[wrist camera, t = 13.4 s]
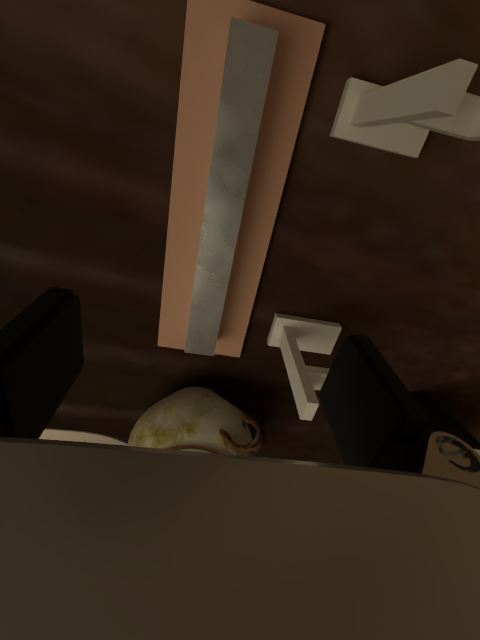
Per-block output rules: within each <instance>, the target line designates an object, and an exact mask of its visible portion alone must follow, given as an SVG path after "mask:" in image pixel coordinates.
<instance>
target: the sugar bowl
mask: <svg viewBox="0 0 480 640" xmlns="http://www.w3.org/2000/svg"><path fill="white" fill-rule="evenodd" d="M246 422H248V423H250V424H251V425H253V426H254V427H255V429H256V435H255V437H254V439H253V441H252V437H251V433H250V430H249V428H248V425H247V423H246ZM264 443H265V430H264V427H263V425H262V423H261V422H260V421H259V420H257V419H256V418H254V417H252V416H250V415H248V414H247V413H246V412H244V411H243V410H242V409H240V408H238V407H236V406H233V405H232V404H230V403H229V402H228V401H226V400H225V399H223V398H221V397H220V396H219V395H218V394H217V393H215V392H214V391H212V390H210V389H208V388H204V387H187V388H183V389H181V390H178V391H176V392H175V393H173V394H172V395H170V396H168V397H166V398H164V399H162V400H161V401H159V402H157V403H156V404H154V405H153V406H152V407H150V408H149V409H148V410H147V411H146V412H145V413H144V414H143V415H142V416H141V417H140V419H139V420H138V421H137V422H136V424H135V426H134V428H133V430H132V432H131V435H130V438H129V443H128V446H136V447H148V448H160V449H172V450H184V451H195V452H207V453H218V454H230V455H241V456H255V455H257V454H258V452H259V451H260V450H261V449H262V447H263V445H264Z"/></svg>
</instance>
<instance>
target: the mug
mask: <svg viewBox="0 0 480 640" xmlns="http://www.w3.org/2000/svg"><path fill="white" fill-rule="evenodd" d="M411 395H412V397H413V398H414V399H415V401H416V402H417V403H418V405H419V406H420V408H421V409H422V410H423V412H424V413H425V414H426V416H427V417H428V418H429V420H430V421H431V422H432V423H431V425H430V426H429V427H428V431H429V432H430V434H432V433H434V432H436V431H438V432H445V433H449V434H452V435H454V436H456V437H458V438H459V439H461V440H463V441H464V442H466V443H467V444H468V445H469V446H471V447H472V448H473V449H474V450H475V451H476V452H477V453H478V454H479V455H480V443H479V442H478V441H477V439H476V438H475V437H474V436H473V435H472V434H471V433H470V432H469V431H468V430H467V429H466V428H465V427H464V426H463V425H462V424H461V423H460V422H459V421H458V420H457V419H456V418H455V417H454V416H453V415H452V414H451V413H450V412H448V411H447V410H446V409H445V408H444V407H443V406H441V405H440V404H439V403H438V402H436V401H435V400H433V399H432V398H430V397H428V396H426V395H423V394H411Z"/></svg>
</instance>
